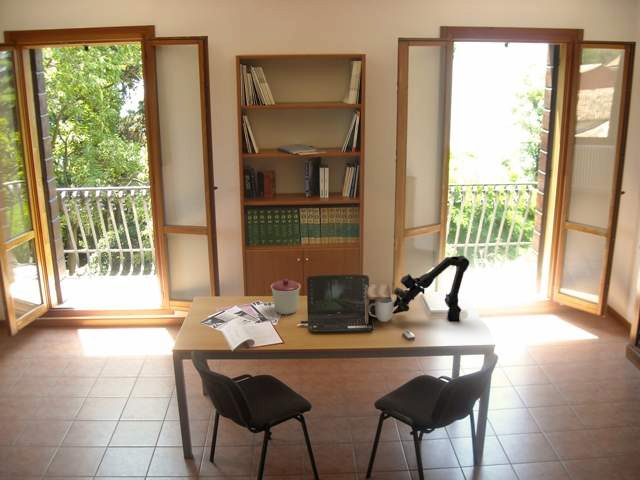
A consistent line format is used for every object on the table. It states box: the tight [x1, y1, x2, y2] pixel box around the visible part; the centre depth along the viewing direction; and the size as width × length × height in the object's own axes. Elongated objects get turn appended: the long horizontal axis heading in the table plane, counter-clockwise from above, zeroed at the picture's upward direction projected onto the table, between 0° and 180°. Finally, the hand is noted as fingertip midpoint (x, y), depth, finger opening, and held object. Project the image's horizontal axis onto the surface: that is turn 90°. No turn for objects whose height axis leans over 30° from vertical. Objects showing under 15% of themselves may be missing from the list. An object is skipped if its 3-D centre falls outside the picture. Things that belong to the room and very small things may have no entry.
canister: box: [270, 278, 301, 315], centre depth 370 cm, size 18×18×21 cm
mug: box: [368, 297, 395, 323], centre depth 360 cm, size 15×11×13 cm
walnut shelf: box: [364, 283, 392, 325], centre depth 359 cm, size 14×20×18 cm
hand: (392, 310), depth 359 cm, fingers open, 9 cm apart
